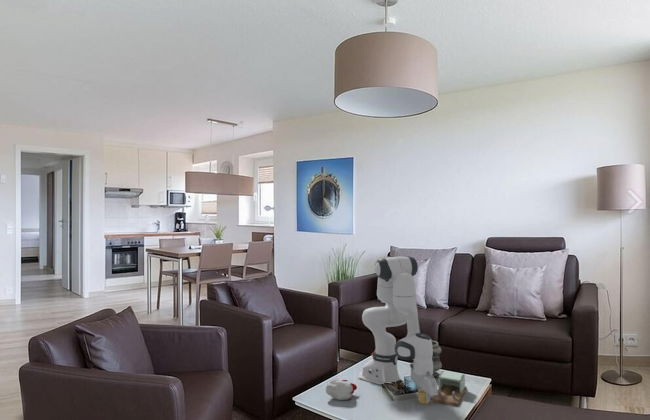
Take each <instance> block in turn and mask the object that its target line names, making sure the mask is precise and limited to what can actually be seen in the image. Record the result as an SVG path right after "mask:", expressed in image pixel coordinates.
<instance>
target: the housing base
mask: <svg viewBox="0 0 650 420" xmlns="http://www.w3.org/2000/svg"><path fill="white" fill-rule="evenodd" d="M466 391H467V386H466V385H465V388H464V390H463V392H462V393H460V387H459V386H453V385H448V384H444V385H443V386H442V388H441V389H439V388H437V396H432V398H431V402H432V403H433V402H435V403H438V404H445V405H450V406H456V407H459V405H460V403H461V400H462V399H463V397H464V395H465V393H466Z"/></svg>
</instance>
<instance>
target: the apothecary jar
mask: <svg viewBox="0 0 650 420" xmlns="http://www.w3.org/2000/svg"><path fill="white" fill-rule="evenodd" d="M431 341H432V348H433V355H432V361H433V374H432V375H433V376H434V378H435V379H437V378H438V377H439V375H440V374H441V373H439V372H438V371H440V370H441V369H442V366H443V364H442V362H441V360H440V354H441V353H442V348H441V346H439V342H438V341H436V340H432V339H431Z"/></svg>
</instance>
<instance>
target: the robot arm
mask: <svg viewBox="0 0 650 420" xmlns="http://www.w3.org/2000/svg"><path fill="white" fill-rule="evenodd" d="M374 270H375V271H374V272H375V274H376V276H377V286H376V287H377V289H376V296H377V299H378V300H379V301H380V302H382V303H384V304H385V305H384V306H374V307H373V306H372V307H369V308H366V309H364V310H363V312H362V315H361V321H362V323H363V325H364V326H365V327H366V328H368V329H369V330H370V331H371V332H372V335H373V337H374V343H375V345H374V346H375V350H374V351H373V352H372V353H371V357H372V358H371V359H369V360H368V361H367V362H365V363H364V365H363V366H362V371H361V372H358V373H359V374H358V376H357V378H358V379H359V380H362V381H365V382H369V383H373V384H377V385H380V386H381V384H383V383H387V382H395V381H398V380H399V381H400V380H401V378H400V375H399V369H398V358H399V359H400V360H402V361H404V360H405V361H411V360H412V361H413V362H411V363H409V367H410V378H411V381H412V380H413V381H412V382H413V383H414V384H415V385H416V387H417V388H416V389H417V393H418V395H419V392H420V391H421V390H423V391H424V392H426V397H425V401H427V402H429V403H430V402H431V397H432V398H433V396H437V390H438V384H437V383H438V382H437V380H436V378H434V376H433V375H432V374H433V361H432V355H433V348H432V341H433V340H432V338H431V336H429V335H428V334H427V333H426V334H425V333H424V332H422V333H421V325H420V318H419V317H420V316H419V311H418V310H419V309H418V306H417V294H416V293H417V291H416V290H417V289H416V285H415V283H416V282H415V279H414V276H415V275H417V273H418V270H419V265H418V262H417V260H416V259H415V258H414V257H413V256H399V255H398V256H392V257H391V256H390V257H382V258H379V259H377V260H376V262H375V264H374ZM403 325H406V329H407V333H406V334H407V335H405V337H403V338H401V339H399V340H398V341H397V340H396V339H397V338H396V337H395V336H394V335H393V334H391V333H390V332H387V329H386V328H391V327H399V326H403ZM431 340H432V341H431ZM399 381H398V382H399ZM395 383H396V382H395ZM383 385H384V384H383Z"/></svg>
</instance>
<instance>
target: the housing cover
mask: <svg viewBox="0 0 650 420" xmlns="http://www.w3.org/2000/svg"><path fill="white" fill-rule="evenodd" d="M439 374H440V375H439V377H438V379H437V380H438V382H437V383H438V389H441V388H442V386H443V385H444V384H448V385H453V386H459V387H460V393H462V392H463V390H464V388H465V386H466V378H465V377H466V374H465V373H459V372H453V371H447V370H442V371H441V372H440V373H439Z"/></svg>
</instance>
